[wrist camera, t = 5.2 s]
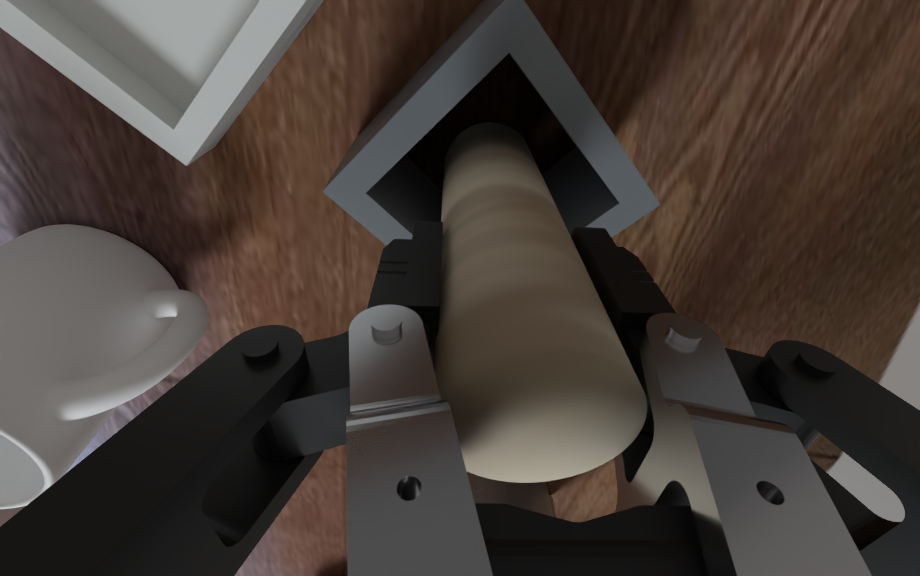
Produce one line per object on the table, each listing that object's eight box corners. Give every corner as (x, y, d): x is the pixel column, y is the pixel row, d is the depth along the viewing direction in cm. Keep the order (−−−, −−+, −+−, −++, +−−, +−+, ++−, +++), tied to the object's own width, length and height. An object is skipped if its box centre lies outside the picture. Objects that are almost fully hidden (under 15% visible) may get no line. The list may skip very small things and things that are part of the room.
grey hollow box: (607, 147, 19) (660, 204, 14) (474, 250, 22) (480, 325, 17) (496, -14, 15) (516, -13, 10) (356, 136, 18) (321, 191, 13)
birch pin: (548, 170, 17) (684, 428, 7) (482, 223, 18) (517, 501, 8) (493, 101, 15) (568, 309, 5) (426, 165, 16) (385, 423, 7)
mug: (210, 202, 20) (40, 355, 12) (274, 327, 25) (185, 498, 17) (-18, 226, 21) (-333, 388, 12) (87, 344, 26) (-88, 516, 17)
